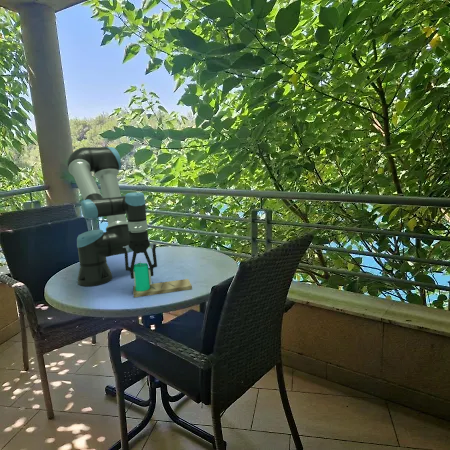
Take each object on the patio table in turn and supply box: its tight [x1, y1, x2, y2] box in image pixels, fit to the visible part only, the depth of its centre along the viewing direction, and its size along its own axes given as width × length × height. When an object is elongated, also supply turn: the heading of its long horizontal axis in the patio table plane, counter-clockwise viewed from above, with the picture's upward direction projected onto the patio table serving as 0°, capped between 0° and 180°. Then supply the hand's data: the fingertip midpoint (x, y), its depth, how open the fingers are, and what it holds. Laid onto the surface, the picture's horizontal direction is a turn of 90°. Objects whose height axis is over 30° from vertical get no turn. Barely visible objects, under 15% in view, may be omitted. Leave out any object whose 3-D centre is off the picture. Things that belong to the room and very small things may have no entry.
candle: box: [133, 261, 150, 291], centre depth 140 cm, size 6×6×12 cm
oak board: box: [132, 278, 193, 298], centre depth 144 cm, size 24×9×2 cm, turn 106°
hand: (143, 284), depth 141 cm, fingers closed on candle, 5 cm apart
